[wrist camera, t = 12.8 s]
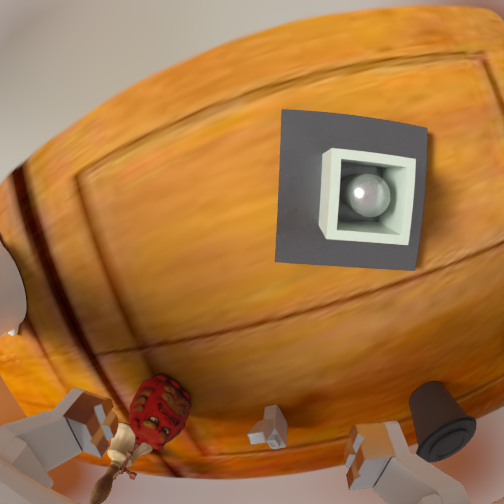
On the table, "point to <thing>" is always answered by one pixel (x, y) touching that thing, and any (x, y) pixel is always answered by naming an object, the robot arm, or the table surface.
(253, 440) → the lighter
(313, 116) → the plate
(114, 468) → the hand bell
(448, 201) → the table surface
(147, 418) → the red clay folk toy
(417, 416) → the coffee cup
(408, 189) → the sleeve
